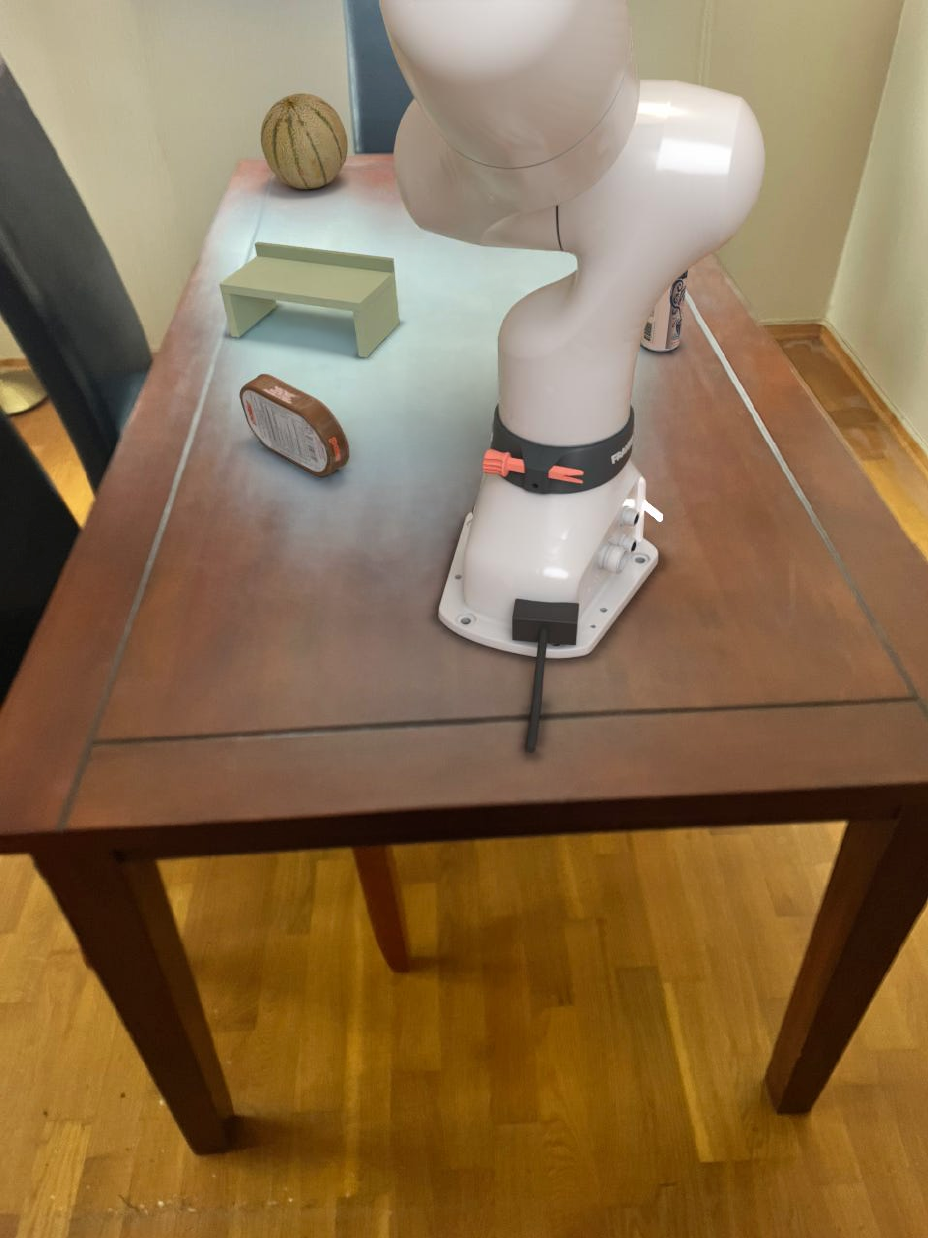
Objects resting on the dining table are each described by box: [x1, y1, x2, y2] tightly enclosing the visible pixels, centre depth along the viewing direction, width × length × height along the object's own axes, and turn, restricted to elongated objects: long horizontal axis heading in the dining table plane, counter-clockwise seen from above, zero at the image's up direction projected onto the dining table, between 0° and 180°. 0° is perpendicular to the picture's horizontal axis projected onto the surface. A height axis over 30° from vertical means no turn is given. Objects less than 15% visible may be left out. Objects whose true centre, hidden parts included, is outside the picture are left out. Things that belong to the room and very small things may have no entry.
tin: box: [238, 373, 350, 477], centre depth 97 cm, size 15×3×8 cm, turn 47°
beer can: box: [640, 269, 689, 353], centre depth 112 cm, size 5×5×12 cm
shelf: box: [219, 241, 400, 359], centre depth 120 cm, size 10×20×9 cm, turn 68°
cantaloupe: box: [260, 93, 349, 190], centre depth 159 cm, size 15×15×15 cm
